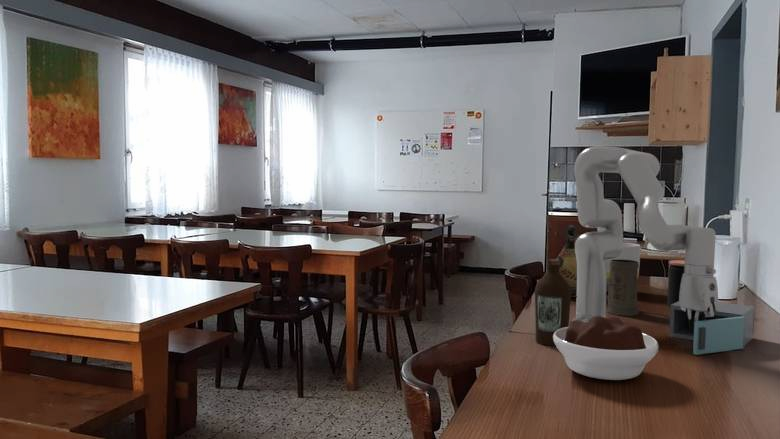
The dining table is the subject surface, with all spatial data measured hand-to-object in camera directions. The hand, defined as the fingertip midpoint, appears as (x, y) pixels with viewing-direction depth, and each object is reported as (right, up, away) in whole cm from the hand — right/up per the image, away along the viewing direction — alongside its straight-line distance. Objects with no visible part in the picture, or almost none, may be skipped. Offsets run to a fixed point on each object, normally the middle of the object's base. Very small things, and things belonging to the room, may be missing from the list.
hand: (695, 333), depth 174 cm
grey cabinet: (+13, -4, +16) cm, 21 cm away
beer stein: (0, -2, +52) cm, 52 cm away
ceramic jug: (-12, 0, +83) cm, 84 cm away
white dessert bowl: (-34, -7, -21) cm, 40 cm away
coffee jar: (+25, -2, +59) cm, 64 cm away
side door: (+7, -5, -1) cm, 8 cm away
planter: (+10, +1, +91) cm, 92 cm away
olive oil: (-39, -4, +9) cm, 40 cm away
